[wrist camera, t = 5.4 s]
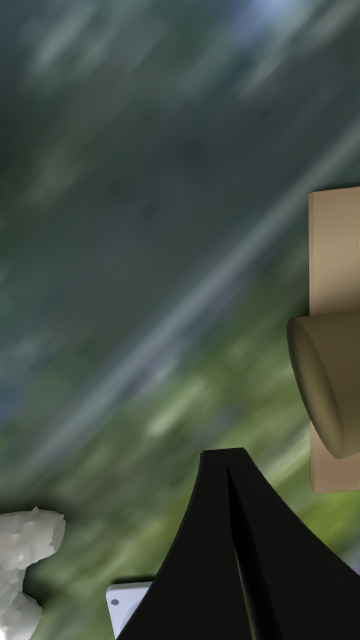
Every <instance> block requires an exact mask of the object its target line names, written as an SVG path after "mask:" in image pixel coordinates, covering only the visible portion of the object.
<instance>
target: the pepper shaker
mask: <svg viewBox="0 0 360 640" xmlns="http://www.w3.org/2000/svg"><path fill="white" fill-rule="evenodd" d="M287 341H288V349H289V354H290V359H291V363H292V368H293V371H294V375H295V378H296V382H297V385H298V388H299V391H300V394H301V397H302V400H303V402H304V405H305V407H306V410H307V412H308V415H309V417H310V419H311V422H312V424H313V426H314V428H315V430H316V432H317V434H318V436H319V438H320V439H321V441H322V442H323V444H324V445H325V447H326V449H327V450H328V451H329V452H330V453H331V454H332V455H333V456H334V458H337V459H343V458H346V457H348V456H351V455H354V454H357V453H359V452H360V309H356V310H349V311H342V312H334V313H327V314H319V315H312V316H305V317H297V318H292V319H289V322H288V324H287Z"/></svg>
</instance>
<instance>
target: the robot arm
mask: <svg viewBox="0 0 360 640" xmlns="http://www.w3.org/2000/svg"><path fill="white" fill-rule="evenodd" d="M234 547H235V549H234ZM235 552H236V554H235ZM236 556H237V560H238V564H239V568H240V572H241V577H242V581H243V585H244V589H245V593H246V597H247V601H248V606H249V610H250V614H251V618H252V622H253V626H254V631H255V636H256V640H360V575H358V574H357V573H356V572H355V571H354V570H352V569H351V568H350V567H349V566H348V565H347V564H346V563H345V562H343V561H342V560H341V559H340V558H339V557H338V556H337V555H336V554H334V553H333V552H332V551H331V550H330V549H329V548H328V547H327V546H326V545H325V544H324V543H323V542H322V541H321V540H320V539H319V538H318V537H317V536H316V535H315V534H314V533H313V532H312V531H311V530H310V529H309V528H308V527H307V526H306V525H305V524H304V523H303V522H302V521H301V520H300V519H299V518H298V517H297V516H296V514H295V513H294V512H293V511H292V510H291V509H290V508H289V507H288V506H287V504H286V503H285V502H284V501H283V500H282V499H281V497H280V496H279V495H278V494H277V492H276V491H275V490H274V489H273V488H272V486H271V485H270V484H269V482H268V481H267V480H266V479H265V477H264V476H263V475H262V473H261V472H260V470H259V469H258V468H257V466H256V465H255V463H254V462H253V460H252V459H251V457H250V456H249V454H248V452H247V451H246V450H245V449H244V448H243V447H242V448H229V449H217V450H205V451H203V452H202V453H201V454H200V465H199V470H198V475H197V479H196V482H195V486H194V489H193V492H192V495H191V499H190V502H189V505H188V507H187V510H186V512H185V515H184V517H183V520H182V523H181V525H180V528H179V530H178V532H177V535H176V537H175V539H174V541H173V543H172V545H171V548H170V550H169V552H168V554H167V556H166V558H165V560H164V562H163V563H162V565H161V567H160V569H159V571H158V573H157V574H156V576H155V578H154V580H153V581H152V582H139V583H125V584H113V585H110V586H109V587H108V588H107V592H106V598H107V602H108V607H109V612H110V616H111V621H112V625H113V630H114V634H115V639H116V640H252V636H251V631H250V626H249V621H248V616H247V611H246V606H245V602H244V596H243V591H242V586H241V581H240V576H239V570H238V565H237V560H236Z"/></svg>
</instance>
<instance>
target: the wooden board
mask: <svg viewBox="0 0 360 640" xmlns="http://www.w3.org/2000/svg"><path fill="white" fill-rule="evenodd" d="M309 305H310V316H312V315H319V314H327V313H334V312H342V311H349V310H356V309H360V187H353V188H344V189H335V190H327V191H318V192H312V193H309ZM310 427H311V487H312V489H313V491H314V493H315V494H319V493H331V492H343V491H355V490H360V452H359V453H357V454H354V455H351V456H348V457H346V458H343V459H337V458H334V456H333V455H332V454H331V453H330V452H329V451H328V450H327V449H326V447H325V445H324V444H323V442H322V441H321V439H320V438H319V436H318V434H317V432H316V430H315V428H314V426H313V424H312V422H311V419H310Z"/></svg>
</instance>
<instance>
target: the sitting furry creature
mask: <svg viewBox="0 0 360 640" xmlns="http://www.w3.org/2000/svg"><path fill="white" fill-rule="evenodd" d="M63 518H64V514H60V513H58V512H56V511H50V510H40V509H38V507H37V506H36V507H35V508H34V509H33V510H32V511H20V512H13V513H5V514H0V640H29V639H30V637H31V636H32V634H33V632H34V631H35V629H36V627H37V625H38V623H39V620H40V618H41V615H42V610H43V608H42V607H40V606H39V605H38V604H37V600H35V599H33V598H31V597H30V596H28V595H27V594H25V593H24V592H22V588H23V579H24V577H25V571H26V568H27V567H28V566H29V565H31V564H32V563H36V562H38V561H39V560H40V559H43V558H46V557H49V556H50V555H52V554H54V553H55V552H57V551H58V550H59V548H60V546H61V543H62V540H63V537H64V532H65V524H66V522H65V520H63Z"/></svg>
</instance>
